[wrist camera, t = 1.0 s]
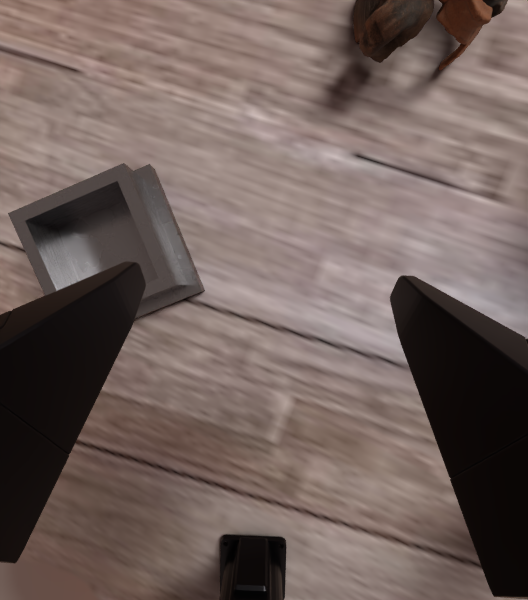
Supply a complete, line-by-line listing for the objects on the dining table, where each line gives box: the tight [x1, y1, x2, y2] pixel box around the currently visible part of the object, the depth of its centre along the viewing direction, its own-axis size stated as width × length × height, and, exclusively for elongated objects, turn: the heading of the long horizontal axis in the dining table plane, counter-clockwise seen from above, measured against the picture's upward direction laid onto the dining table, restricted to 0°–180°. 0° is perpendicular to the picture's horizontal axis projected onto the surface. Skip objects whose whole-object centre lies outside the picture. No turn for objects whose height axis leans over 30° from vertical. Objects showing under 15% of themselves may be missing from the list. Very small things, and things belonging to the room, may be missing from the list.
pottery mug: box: [353, 0, 508, 70], centre depth 19 cm, size 12×10×8 cm
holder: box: [8, 163, 205, 319], centre depth 21 cm, size 12×12×4 cm
